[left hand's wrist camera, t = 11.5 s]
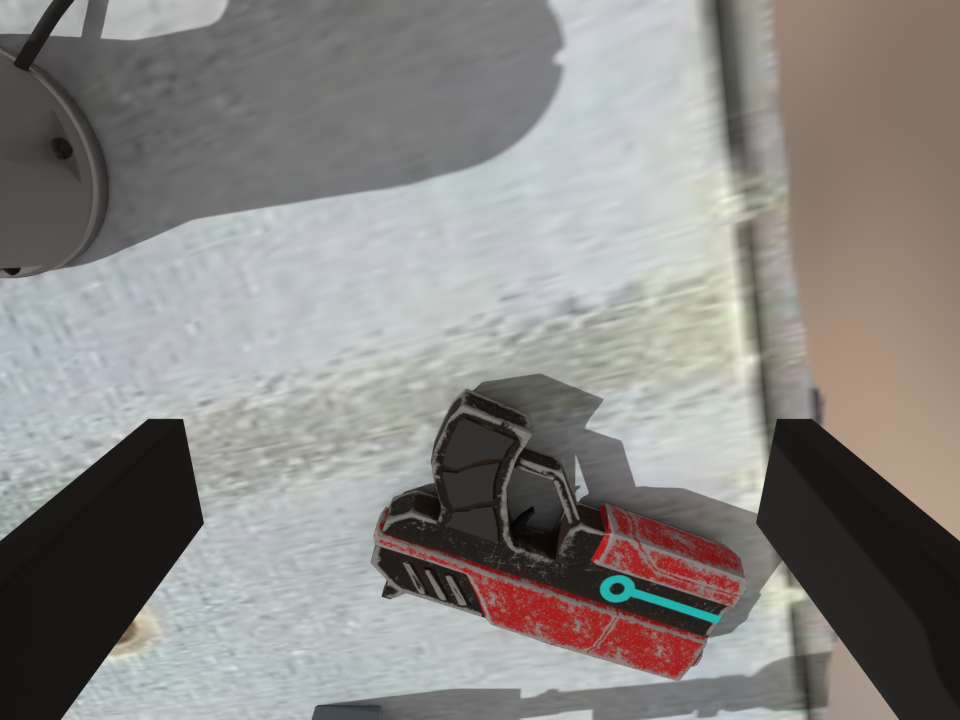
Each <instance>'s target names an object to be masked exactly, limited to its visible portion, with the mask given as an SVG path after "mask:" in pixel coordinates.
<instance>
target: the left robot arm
mask: <svg viewBox="0 0 960 720" xmlns="http://www.w3.org/2000/svg"><path fill="white" fill-rule="evenodd" d="M73 1H74V0H53V2H52V3H51V4H50V6H49V7H48V8H47V10H46V11H45V13H44V14H43V16H42V18H41V19H40V21H39V22H38V24H37V26H36V27H35V29H34V30H33V32H32V34H31V35H30V37H29V38H28V40H27V42H26V43H25V45H24V47H23V48H22V50H21V52H20V53H19V55H16V54H14V53H13V52H10V51H8V50H5V49H3V48H0V278H20V277H28V276H32V275H36V274H40V273H43V272H47V271H50V270H53V269H56V268H59V267H61V266H64V265H66V264H68V263H69V262H71V261H73V260H74V259H76V258H77V257H78V256H79V255H81V254H82V253H83V252H84V251H85V250H86V249H87V248H88V247H89V246H90V244H91V243H92V242H93V240H94V239H95V237H96V235H97V234H98V232H99V230H100V228H101V225H102V223H103V220H104V216H105V213H106V207H107V201H108V179H107V172H106V166H105V162H104V158H103V154H102V151H101V148H100V145H99V143H98V141H97V138H96V136H95V134H94V132H93V130H92V128H91V126H90V124H89V122H88V121H87V119H86V117H85V116H84V114H83V112H82V111H81V110H80V108H79V107H78V106H77V104H76V103H75V102H74V100H73V99H72V98H71V97H70V96H69V94H68V93H67V92H66V91H65V90H64V89H63V88H62V87H61V86H60V85H59V84H58V83H57V82H56V81H55V80H54V79H52V78H51V77H50V76H49V75H48V74H47V73H45V72H44V71H43V70H41V69H40V68H38V67H37V66H36V65H34V64H33V63H32V62H33V61H34V59H35V58H36V56H37V54H38V53H39V51H40V50H41V48H42V46H43V45H44V43H45V41H46V40H47V38H48V37H49V35H50V33H51V32H52V30H53V29H54V27H55V26H56V24H57V22H58V21H59V19H60V18H61V17H62V15H63V14H64V13H65V11H66V10H67V9H68V8H69V6H70V5H71V4H72V3H73ZM203 524H204V521H203V517H202V512H201V507H200V502H199V497H198V492H197V487H196V482H195V477H194V472H193V467H192V462H191V457H190V452H189V447H188V442H187V437H186V432H185V427H184V422H183V419H148V420H146V421H145V422H144V423H143V424H142V425H140V426H139V427H138V428H137V429H136V430H134V431H133V432H132V433H131V434H129V435H128V436H127V437H126V438H125V439H123V440H122V441H121V442H120V443H119V444H117V445H116V446H115V447H114V448H113V449H111V450H110V451H109V452H108V453H106V454H105V455H104V456H103V457H102V458H100V459H99V460H98V461H97V462H96V463H94V464H93V465H92V466H91V467H90V468H88V469H87V470H86V471H85V472H83V473H82V474H81V475H80V476H79V477H77V478H76V479H75V480H74V481H73V482H71V483H70V484H69V485H68V486H66V487H65V488H64V489H63V490H62V491H60V492H59V493H58V494H57V495H56V496H54V497H53V498H52V499H51V500H50V501H48V502H47V503H46V504H45V505H43V506H42V507H41V508H40V509H39V510H37V511H36V512H35V513H34V514H33V515H31V516H30V517H29V518H28V519H27V520H25V521H24V522H23V523H22V524H20V525H19V526H18V527H17V528H16V529H14V530H13V531H12V532H11V533H10V534H8V535H7V536H6V537H5V538H4V539H2V540H1V541H0V720H61V719H62V717H63V716H64V715H65V713H66V712H67V710H68V709H69V708H70V706H71V705H72V704H73V702H74V701H75V699H76V698H77V697H78V695H79V694H80V693H81V691H82V690H83V688H84V687H85V686H86V684H87V683H88V682H89V680H90V679H91V678H92V676H93V675H94V673H95V672H96V671H97V669H98V668H99V667H100V665H101V664H102V662H103V661H104V660H105V658H106V657H107V656H108V654H109V653H110V651H111V650H112V649H113V647H114V646H115V645H116V643H117V642H118V641H119V639H120V638H121V636H122V635H123V634H124V632H125V631H126V630H127V628H128V627H129V625H130V624H131V623H132V621H133V620H134V619H135V617H136V616H137V614H138V613H139V612H140V610H141V609H142V608H143V606H144V605H145V604H146V602H147V601H148V599H149V598H150V597H151V595H152V594H153V593H154V591H155V590H156V588H157V587H158V586H159V584H160V583H161V582H162V580H163V579H164V577H165V576H166V575H167V573H168V572H169V571H170V569H171V568H172V567H173V565H174V564H175V562H176V561H177V560H178V558H179V557H180V556H181V554H182V553H183V551H184V550H185V549H186V547H187V546H188V545H189V543H190V542H191V540H192V539H193V538H194V536H195V535H196V534H197V532H198V531H199V530H200V528H201V527H202V525H203ZM756 524H757V525H758V527H759V528H760V530H761V531H762V532H763V534H764V535H765V536H766V538H767V539H768V540H769V542H770V543H771V545H772V546H773V547H774V549H775V550H776V551H777V553H778V554H779V556H780V557H781V558H782V560H783V561H784V562H785V564H786V565H787V567H788V568H789V569H790V571H791V572H792V573H793V575H794V576H795V577H796V579H797V580H798V582H799V583H800V584H801V586H802V587H803V588H804V590H805V591H806V593H807V594H808V595H809V597H810V598H811V599H812V601H813V602H814V604H815V605H816V606H817V608H818V609H819V610H820V612H821V613H822V614H823V616H824V617H825V619H826V620H827V621H828V623H829V624H830V625H831V627H832V628H833V630H834V631H835V632H836V634H837V635H838V636H839V638H840V639H841V640H842V642H843V643H844V645H845V646H846V647H847V649H848V650H849V651H850V653H851V654H852V656H853V657H854V658H855V660H856V661H857V662H858V664H859V665H860V667H861V668H862V669H863V671H864V672H865V673H866V675H867V676H868V677H869V679H870V680H871V682H872V683H873V684H874V686H875V687H876V688H877V690H878V691H879V693H880V694H881V695H882V697H883V698H884V699H885V701H886V702H887V704H888V705H889V706H890V708H891V709H892V710H893V712H894V713H895V714H896V716H897V717H898V719H899V720H960V541H959V540H958V539H956V538H955V537H954V536H953V535H952V534H950V533H949V532H948V531H947V530H946V529H944V528H943V527H942V526H941V525H939V524H938V523H937V522H936V521H935V520H933V519H932V518H931V517H930V516H929V515H927V514H926V513H925V512H924V511H923V510H921V509H920V508H919V507H918V506H916V505H915V504H914V503H913V502H912V501H910V500H909V499H908V498H907V497H906V496H904V495H903V494H902V493H901V492H900V491H898V490H897V489H896V488H895V487H893V486H892V485H891V484H890V483H889V482H887V481H886V480H885V479H884V478H883V477H881V476H880V475H879V474H878V473H877V472H875V471H874V470H873V469H872V468H870V467H869V466H868V465H867V464H866V463H864V462H863V461H862V460H861V459H860V458H858V457H857V456H856V455H855V454H854V453H852V452H851V451H850V450H849V449H847V448H846V447H845V446H844V445H843V444H841V443H840V442H839V441H838V440H837V439H835V438H834V437H833V436H832V435H831V434H829V433H828V432H827V431H826V430H824V429H823V428H822V427H821V426H820V425H818V424H817V423H816V422H815V421H814V420H812V419H777V422H776V427H775V432H774V437H773V442H772V447H771V452H770V457H769V462H768V467H767V472H766V477H765V482H764V487H763V492H762V497H761V502H760V507H759V512H758V516H757V521H756Z"/></svg>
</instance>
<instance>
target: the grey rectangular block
mask: <svg viewBox="0 0 960 720" xmlns="http://www.w3.org/2000/svg"><path fill="white" fill-rule="evenodd" d="M312 720H382V714H381V706H316V707H315V710H314V713H313V717H312Z"/></svg>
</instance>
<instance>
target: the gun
mask: <svg viewBox="0 0 960 720" xmlns="http://www.w3.org/2000/svg"><path fill="white" fill-rule="evenodd" d="M531 436H532V427H531V419H530V415H529V414H526V413H524V412H521V411H519V410H516V409H514V408H511V407H509V406H506V405H504V404H502V403H499V402H497V401H494V400H492V399H489V398H487V397H485V396H482V395H480V394H478V393H475V392H473V391H471V390H468V389H465V390H464V391H463V392H462V393H461V394H460V395H459V396H458V397H457V398H456V399H455V400H454V401H453V403H452V404H451V406H450V408H449V410H448V412H447V414H446V416H445V418H444V420H443V422H442V425H441V427H440V430H439V432H438V434H437V437H436V439H435V443H434V448H433V453H432V458H431V465H432V471H433V476H434V482H435V487H436V490H437V494H438V497H437V496H434V495H431V494H428V493H425V492H422V491H419V490H414V491H411V492H408V493H405V494H402V495H399V496H396V497H393V499H392V501H391V504H390V507H389V508H388V507H386V508H385V509H384V510H383V511H382V513H381V514H380V517H379V520H378V523H377V526H376V529H375V533H374V542H375V548H374V552H373V555H372V559H371V563H372V564H373V565H374V567H375V568H376V569H377V570H378V571H379V572H380V573H381V574H382V575H383V576H384V577H385V578H386V579H387V582H386V584H385V586H384V589H383V593H382V597H384V598H388V599H392V598H394V597H397V596H400V595H402V594H405V593H408V594H411V595H414V596H418V597H421V598H424V599H427V600H430V601H433V602H437V603H440V604H443V605H446V606H449V607H453V608H456V609H459V610H462V611H465V612H468V613H472V614H475V615H478V616H481V617H484V618H486V619H487V620H488V621H489V623H490V624H491V625H494V626H497V627H500V628H503V629H506V630H510V631H513V632H516V633H519V634H522V635H525V636H528V637H530V638H533V639H536V640H539V641H541V642H544V643H547V644H550V645H554V646H557V647H561V648H564V649H568V650H571V651H575V652H578V653H582V654H585V655H589V656H592V657H596V658H599V659H603V660H606V661H610V662H613V663H617V664H620V665H624V666H627V667H630V668H634V669H637V670H641V671H644V672H648V673H651V674H655V675H658V676H662V677H665V678H669V679H672V680H676V681H679V680H680V679H681V678H682V677H683V676H684V674H685V673H686V672H687V671H688V670H689V669H690V667H691V666H696V665H697V664H698V663H699V661H700V660H701V657H702V653H703V649H704V647H705V646H706V644H707V637H708V636H709V635H710V633H711V632H712V630H713V629H714V627H715V626H716V625H717V623H718V622H719V620H720V619H721V617H722V616H723V615H724V613H725V612H726V610H727V609H728V607H729V606H730V607H733V608H734V607H735V605H736V604H737V602H738V601H739V599H740V598H741V596H742V595H743V593H744V592H745V590H746V589H747V587H746V582H745V577H744V573H743V568H742V564H741V559H740V558H739V557H738V556H737V555H736V554H735V553H734V552H733V551H732V550H730V549H729V548H728V547H727V546H725V545H723V544H720V543H717V542H714V541H711V540H709V539H706V538H703V537H700V536H697V535H694V534H692V533H689V532H686V531H683V530H680V529H678V528H675V527H672V526H669V525H666V524H664V523H661V522H658V521H655V520H652V519H650V518H647V517H644V516H641V515H638V514H635V513H633V512H630V511H627V510H624V509H621V508H619V507H616V506H613V505H611V504H608V503H604V504H603V505H602V506H601V508H600V509H596V508H593V507H590V506H587V505H584V504H581V503H578V502H575V499H574V496H573V494H572V491H571V488H570V485H569V483H568V480H567V477H566V474H565V472H564V469H563V466H562V463H561V461H560V459H558V458H555V457H552V456H549V455H546V454H543V453H541V452H538V451H535V450H532V449H529V448H526V447H525V446H526V444H527V443H528V441H529V439H530V438H531ZM513 467H515V468H518V469H521V470H524V471H527V472H530V473H533V474H536V475H539V476H542V477H544V478H547V479H550V480H553V481H554V484H555V487H556V489H557V492H558V495H559V497H560V500H561V503H562V505H563V508H564V513H563V514H562V516H561V518H560V520H559V522H558V524H557V526H556V528H555V530H554V532H553V534H552V535H551V534H548V533H545V532H542V531H539V530H536V529H533V528H530V527H527V526H524V525H525V524H526V522H527V521H528V520H529V519H530V517H531V516H532V515H533V514H534V507H531V508H529V509H528V510H526V511H525V512H523V513H522V514H520V515H519V516H518V518H517V519H516V520H515V521H514V522H513V521H512V519H511V516H510V513H509V510H508V499H507V485H508V482H509V479H510V476H511V473H512V470H513Z"/></svg>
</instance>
